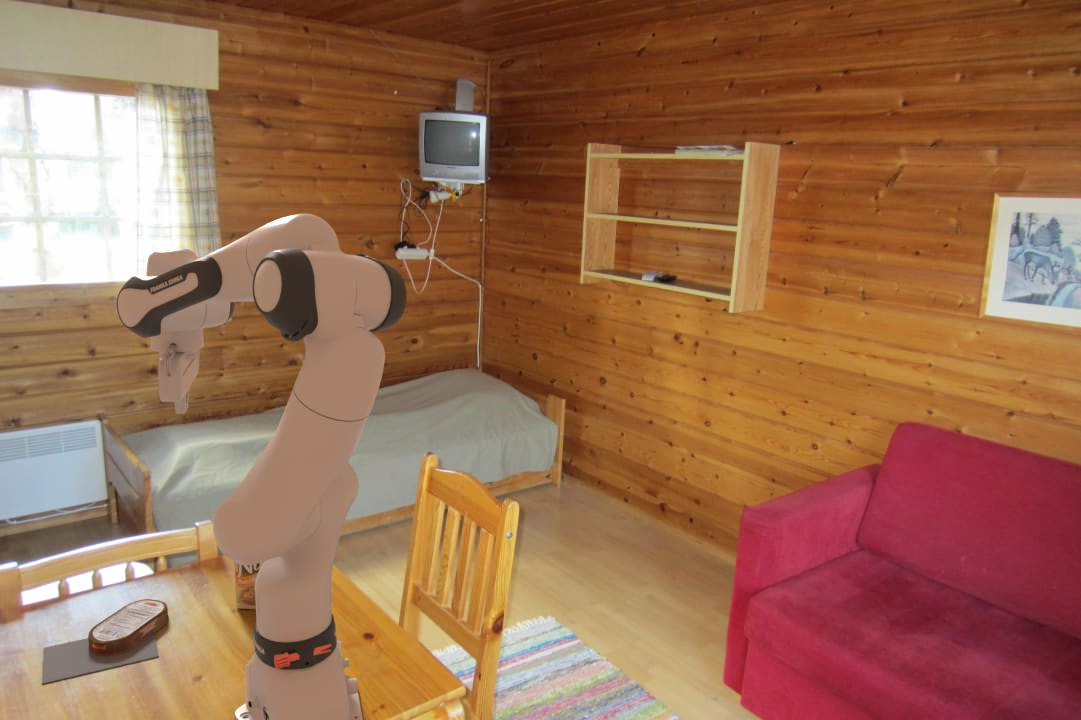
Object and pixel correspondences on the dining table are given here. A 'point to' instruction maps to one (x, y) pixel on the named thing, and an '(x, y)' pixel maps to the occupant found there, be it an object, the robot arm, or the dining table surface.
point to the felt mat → (90, 659)
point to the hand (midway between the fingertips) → (182, 411)
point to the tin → (127, 627)
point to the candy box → (246, 585)
